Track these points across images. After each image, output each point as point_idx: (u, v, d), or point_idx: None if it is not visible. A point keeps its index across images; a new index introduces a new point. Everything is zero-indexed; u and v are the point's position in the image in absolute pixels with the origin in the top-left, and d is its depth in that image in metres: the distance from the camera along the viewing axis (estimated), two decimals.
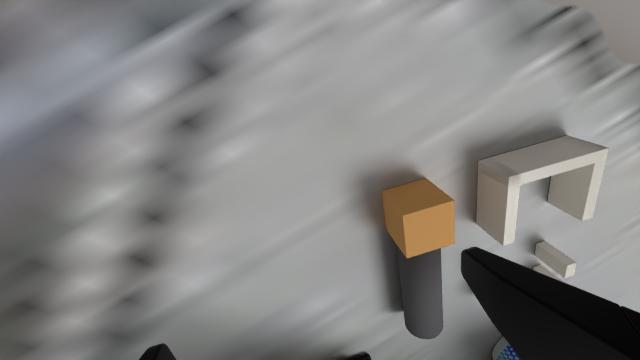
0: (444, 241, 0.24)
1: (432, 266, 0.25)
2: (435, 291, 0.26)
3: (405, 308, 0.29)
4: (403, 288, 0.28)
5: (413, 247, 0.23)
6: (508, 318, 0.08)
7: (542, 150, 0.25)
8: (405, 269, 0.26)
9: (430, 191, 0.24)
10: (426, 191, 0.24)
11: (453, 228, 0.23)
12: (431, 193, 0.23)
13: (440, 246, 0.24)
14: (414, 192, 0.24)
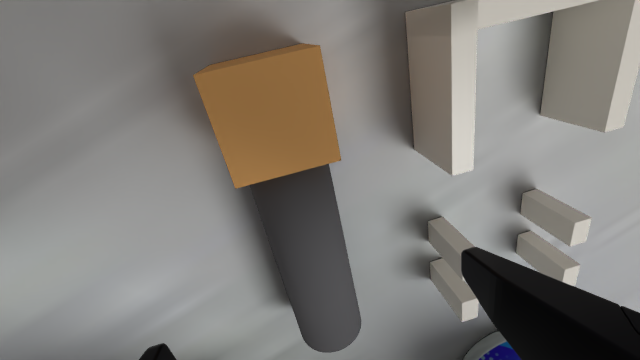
0: (316, 153, 0.11)
1: (306, 212, 0.13)
2: (324, 265, 0.14)
3: (289, 298, 0.16)
4: (276, 261, 0.15)
5: (244, 162, 0.11)
6: (508, 318, 0.08)
7: None
8: (263, 221, 0.14)
9: (289, 49, 0.11)
10: (281, 50, 0.11)
11: None
12: (288, 50, 0.11)
13: (309, 164, 0.11)
14: (260, 55, 0.12)
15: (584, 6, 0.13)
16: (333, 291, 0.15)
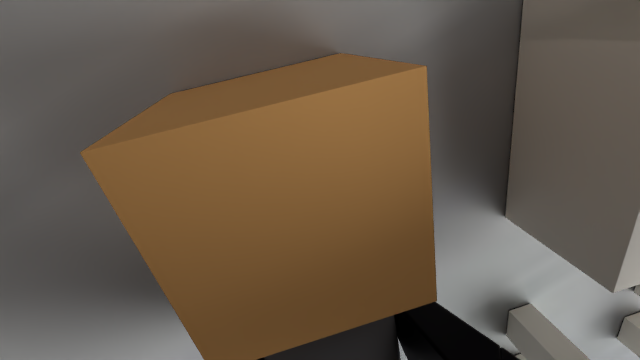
0: (389, 294, 0.05)
1: None
2: None
3: None
4: None
5: (231, 327, 0.05)
6: (412, 351, 0.08)
7: None
8: None
9: (328, 67, 0.05)
10: (311, 70, 0.05)
11: (431, 234, 0.05)
12: (327, 70, 0.05)
13: (372, 315, 0.05)
14: (266, 79, 0.06)
15: None
16: None
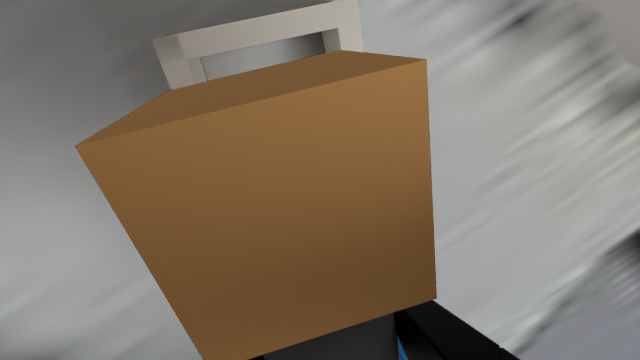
0: (388, 291, 0.05)
1: None
2: None
3: None
4: None
5: (228, 324, 0.05)
6: (412, 350, 0.08)
7: None
8: None
9: (327, 63, 0.05)
10: (310, 66, 0.05)
11: (431, 230, 0.05)
12: (326, 65, 0.05)
13: (371, 313, 0.05)
14: (264, 75, 0.06)
15: (329, 37, 0.15)
16: None
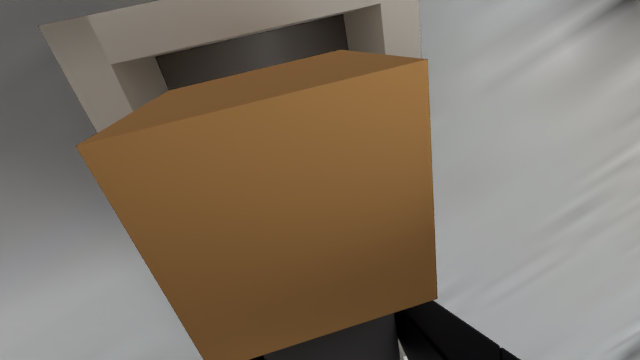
0: (389, 291, 0.05)
1: None
2: None
3: None
4: None
5: (230, 324, 0.05)
6: (412, 351, 0.08)
7: None
8: None
9: (328, 63, 0.05)
10: (310, 66, 0.05)
11: (431, 231, 0.05)
12: (327, 65, 0.05)
13: (372, 313, 0.05)
14: (265, 75, 0.06)
15: (358, 22, 0.09)
16: None
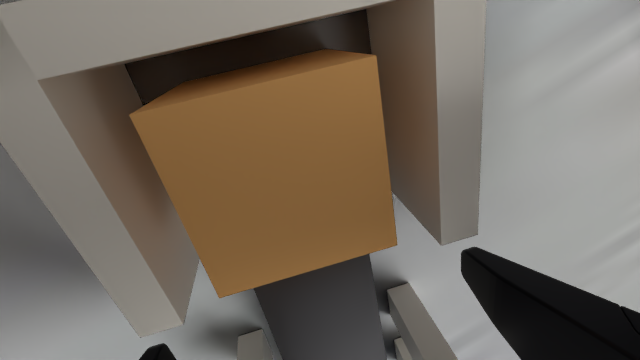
0: (357, 237, 0.06)
1: (335, 315, 0.08)
2: None
3: None
4: None
5: (234, 258, 0.06)
6: (508, 318, 0.08)
7: None
8: (266, 317, 0.09)
9: (311, 59, 0.07)
10: (297, 61, 0.07)
11: (389, 188, 0.06)
12: (310, 61, 0.06)
13: (345, 255, 0.07)
14: (262, 68, 0.07)
15: (390, 19, 0.07)
16: None
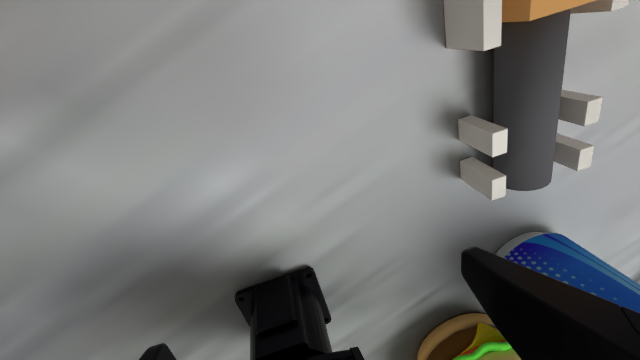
0: None
1: (558, 50, 0.17)
2: (555, 101, 0.18)
3: None
4: (502, 111, 0.20)
5: None
6: (508, 318, 0.08)
7: None
8: (512, 67, 0.18)
9: None
10: None
11: None
12: None
13: (580, 2, 0.15)
14: None
15: None
16: (553, 128, 0.19)
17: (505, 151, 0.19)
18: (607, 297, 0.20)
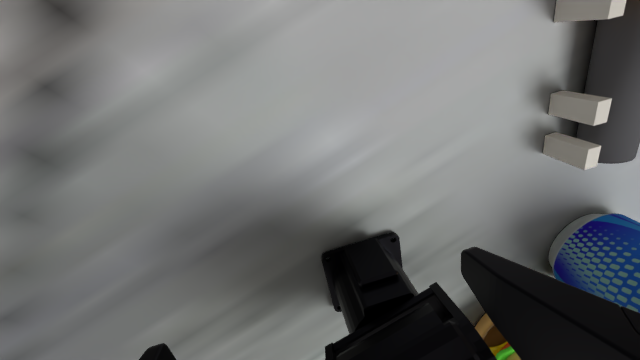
0: None
1: None
2: None
3: None
4: (601, 84, 0.21)
5: None
6: (508, 318, 0.08)
7: None
8: (620, 41, 0.19)
9: None
10: None
11: None
12: None
13: None
14: None
15: None
16: None
17: (605, 121, 0.20)
18: None
